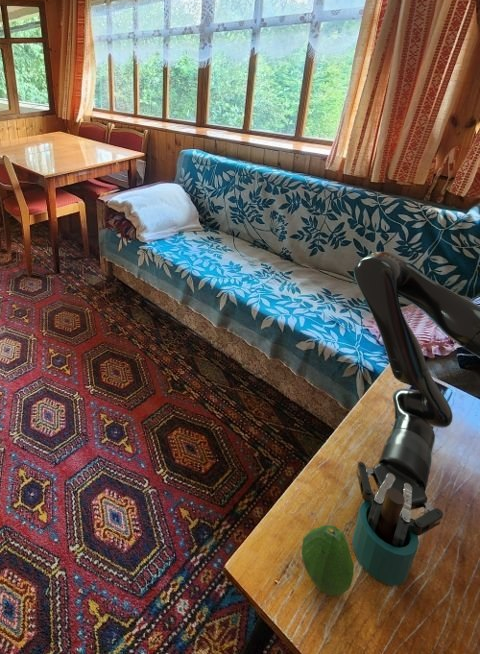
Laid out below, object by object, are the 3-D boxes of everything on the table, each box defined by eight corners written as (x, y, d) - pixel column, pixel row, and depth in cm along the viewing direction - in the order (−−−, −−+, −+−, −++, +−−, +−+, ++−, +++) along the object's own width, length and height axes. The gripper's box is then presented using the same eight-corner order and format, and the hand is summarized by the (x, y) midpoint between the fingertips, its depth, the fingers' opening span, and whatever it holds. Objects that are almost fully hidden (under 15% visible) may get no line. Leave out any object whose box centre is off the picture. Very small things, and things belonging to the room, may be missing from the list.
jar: (394, 532, 71) (403, 502, 68) (418, 591, 64) (429, 560, 61) (345, 524, 73) (352, 494, 70) (363, 579, 65) (371, 549, 62)
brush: (386, 539, 70) (403, 484, 64) (398, 569, 66) (417, 512, 60) (361, 535, 71) (375, 479, 65) (370, 563, 67) (386, 507, 61)
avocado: (353, 572, 66) (363, 531, 62) (343, 620, 61) (353, 578, 57) (306, 539, 72) (312, 498, 67) (293, 580, 66) (299, 539, 62)
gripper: (368, 425, 78) (342, 489, 67) (456, 472, 68) (442, 556, 57) (363, 449, 80) (336, 515, 69) (446, 498, 71) (431, 584, 60)
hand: (384, 533), depth 63 cm, fingers closed on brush, 2 cm apart
